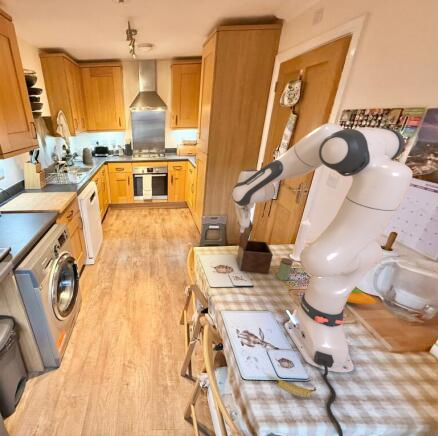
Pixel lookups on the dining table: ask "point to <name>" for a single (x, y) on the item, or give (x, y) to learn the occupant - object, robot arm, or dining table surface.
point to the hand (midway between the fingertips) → (240, 227)
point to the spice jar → (284, 269)
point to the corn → (360, 298)
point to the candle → (301, 240)
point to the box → (255, 257)
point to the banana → (295, 389)
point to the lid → (245, 235)
